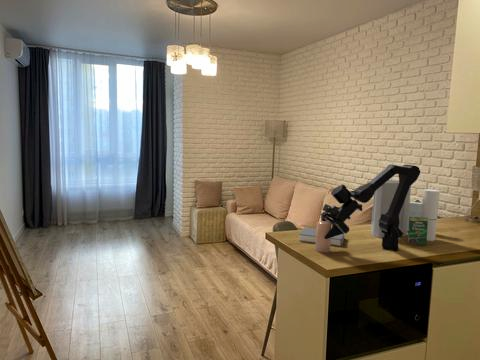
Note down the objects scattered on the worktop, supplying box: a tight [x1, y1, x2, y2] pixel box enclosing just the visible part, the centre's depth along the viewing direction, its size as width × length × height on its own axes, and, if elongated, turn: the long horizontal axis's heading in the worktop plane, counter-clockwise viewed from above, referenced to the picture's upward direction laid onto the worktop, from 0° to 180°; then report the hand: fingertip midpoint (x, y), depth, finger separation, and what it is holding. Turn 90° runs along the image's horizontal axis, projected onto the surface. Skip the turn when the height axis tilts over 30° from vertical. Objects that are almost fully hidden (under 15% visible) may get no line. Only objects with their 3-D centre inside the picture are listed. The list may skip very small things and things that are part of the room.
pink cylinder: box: [314, 220, 332, 254], centre depth 158 cm, size 6×6×12 cm
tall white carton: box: [370, 179, 412, 239], centre depth 190 cm, size 19×15×28 cm
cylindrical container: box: [421, 188, 441, 242], centre depth 180 cm, size 7×7×25 cm
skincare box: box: [407, 201, 423, 232], centre depth 198 cm, size 21×6×16 cm, turn 58°
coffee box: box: [407, 217, 428, 247], centre depth 172 cm, size 8×3×13 cm, turn 68°
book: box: [298, 227, 345, 247], centre depth 175 cm, size 20×14×4 cm
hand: (320, 235), depth 158 cm, fingers open, 9 cm apart
